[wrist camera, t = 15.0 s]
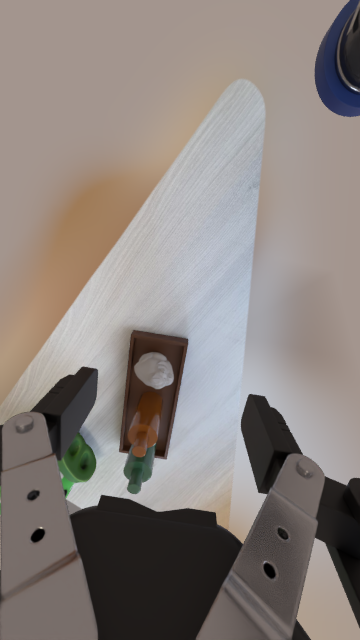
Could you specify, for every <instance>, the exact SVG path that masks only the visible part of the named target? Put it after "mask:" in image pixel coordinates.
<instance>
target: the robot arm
mask: <svg viewBox="0 0 360 640" xmlns="http://www.w3.org/2000/svg"><path fill="white" fill-rule="evenodd" d="M335 69H336V73H337V76H338V78H339V80H340V82H341V84H342V85H343V86H344V87H345V88H346V89H347V90H348V91H350V92H351V93H354V94H356V95H360V1H359V4H358V6H357V8H356V9H355V10H354V12H353V13H352V14H351V16H350V17H349V19H348V20H347V21H346V23H345V25H344V26H343V28H342V30H341V32H340V35H339V37H338V40H337V44H336V49H335ZM97 381H98V370H97V369H94V368H88V367H81V368H80V370H79V371H78V372H77V373H76V374H75V375H68V376H66V377H64V378H62V379H60V380H59V381H58V382H57V384H56V385H55V386H54V387H53V388H52V389H51V390H50V391H49V393H47V394H46V395H45V396H44V397H43V398H42V399H41V400H40V401H39V403H38V404H37V405H36V406H35V407H34V408H33V409H32V410H31V411H30V412H25V413H21V414H18V415H15V416H13V417H12V418H10V419H9V420H8V421H7V422H6V423H5V424H4V425H0V486H1V570H0V640H311V639H310V638H309V636H308V635H307V633H306V632H305V631H304V629H303V628H302V626H301V625H300V624H299V622H298V621H297V619H296V617H297V613H298V608H299V604H300V600H301V595H302V591H303V587H304V582H305V578H306V573H307V569H308V565H309V561H310V556H311V551H312V547H313V543H314V539H315V538H317V539H319V540H321V541H323V542H325V543H326V546H327V548H328V551H329V553H330V556H331V558H332V561H333V563H334V566H335V568H336V571H337V573H338V576H339V578H340V581H341V583H342V585H343V588H344V590H345V593H346V595H347V598H348V600H349V603H350V605H351V608H352V610H353V613H354V615H355V618H356V620H357V623H358V625H359V627H360V478H353V479H351V480H350V481H349V483H348V485H347V486H346V485H344V484H341V483H339V482H337V481H335V480H332V479H330V478H328V477H325V476H324V473H323V471H322V470H321V468H320V467H319V466H318V465H317V464H316V463H315V462H314V461H312V460H311V459H310V458H308V457H306V456H304V455H303V454H302V452H301V450H300V448H299V446H298V444H297V443H296V441H295V439H294V437H293V435H292V433H291V432H290V430H289V428H288V426H287V425H286V422H285V420H284V418H283V417H282V415H281V414H280V413H279V412H278V411H277V410H276V409H275V408H272V407H270V406H269V404H268V401H267V399H266V398H265V396H259V395H253V394H249V396H248V398H247V402H246V405H245V408H244V412H243V415H242V419H241V431H242V434H243V437H244V441H245V445H246V449H247V452H248V456H249V460H250V463H251V467H252V471H253V474H254V477H255V482H256V485H257V489H258V492H259V493H263V494H267V497H266V499H265V501H264V503H263V505H262V507H261V509H260V511H259V513H258V515H257V517H256V519H255V521H254V523H253V525H252V527H251V529H250V531H249V534H248V536H247V538H246V539H245V541H244V544H242V543H241V542H240V541H239V540H238V539H237V538H236V537H235V536H234V535H233V534H232V533H231V532H229V531H228V530H227V529H225V528H223V527H222V526H220V525H218V524H217V521H216V513H215V512H209V511H202V510H196V509H189V508H186V509H179V510H171V511H164V512H156V511H154V510H152V509H150V508H147V507H145V506H143V505H141V504H139V503H137V502H134V501H132V500H130V499H125V498H118V497H112V496H105V495H101V498H100V500H99V503H98V506H92V507H88V508H84V509H82V510H79V511H77V512H75V513H73V514H71V515H69V511H68V506H67V502H66V497H65V493H64V488H63V484H62V480H61V475H60V471H59V466H58V462H57V461H61V460H62V458H63V457H64V455H65V453H66V452H67V450H68V448H69V446H70V445H71V443H72V441H73V440H74V438H75V436H76V435H77V433H78V431H79V430H80V428H81V426H82V425H83V423H84V421H85V419H86V418H87V416H88V414H89V413H90V411H91V409H92V408H93V406H94V403H95V400H96V396H97Z"/></svg>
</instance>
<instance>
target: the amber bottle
mask: <svg viewBox="0 0 360 640" xmlns="http://www.w3.org/2000/svg"><path fill="white" fill-rule="evenodd" d="M162 409H163V399H162V397H161V396H160V395H159V394H157V393H155V392H146V393H143V394H142V395H141V396H140V398H139V401H138V404H137V407H136V410H135V413H134V416H133V419H132V422H131V425H130V428H129V431H128V439H129V441H130V443H131V444H132V445H133V448H132V453H133V455H134V456H136V457H143V456H144V455H145V454H146V451H147V448H150V447H152V446H153V445H155V443H156V442H157V439H158V433H159V427H160V421H161V415H162Z"/></svg>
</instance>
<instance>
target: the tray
mask: <svg viewBox="0 0 360 640" xmlns="http://www.w3.org/2000/svg"><path fill="white" fill-rule="evenodd" d="M187 347H188V339H185V338H178V337H172V336H166V335H160V334H154V333H148V332H142V331H136V330H134V331H133V332H132V334H131V340H130V350H129V360H128V370H127V379H126V389H125V399H124V409H123V419H122V429H121V438H120V448H119V452H122V453H129V450H130V446H131V443H130V441H129V439H128V431H129V428H130V425H131V422H132V419H133V416H134V413H135V410H136V407H137V404H138V401H139V398H140V396H141V395H142V394H143V393H146V392H155V393H157V394H159V395H160V396H161V397H162V399H163V409H162V415H161V421H160V427H159V433H158V439H157V445H156V452H155V458H160V459H167V455H168V449H169V444H170V438H171V433H172V428H173V422H174V417H175V411H176V406H177V401H178V395H179V390H180V385H181V379H182V374H183V368H184V363H185V358H186V352H187ZM150 352H158V353H161V354H162V355H164V356H165V357H166V358H167V361H169V362H170V364H171V366H172V370H173V374H174V379H173V382H172V383H171V384H170V385H167V386H165V387H163V388H161V389H155V388H154V387H151V386H148V385H146V384H144V383H143V381H141V380H140V379H139V378H138V377H137V375H136V373H135V370H134V366H135V365H136V364H137V363H138V362H139V359H140V358H141V356H142V355H144V354H147V353H150Z"/></svg>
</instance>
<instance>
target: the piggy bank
mask: <svg viewBox="0 0 360 640" xmlns="http://www.w3.org/2000/svg"><path fill="white" fill-rule="evenodd" d="M57 462H58V466H59V471H60V475H61V480H62V484H63V488H64V493H65V497H66V498H67V496H68V494H69V492H70V491H71V489H72V487H73V485H74V484H75V483H78V482H86V481H88V480H89V479H90V478H91V477H92V475H93V473H94V471H95V469H96V458H95V455H94V453H93V451H92V449H91V448H90V446H89V445H87V444H86V443H85V441H84V438H83V437H82V436H81V435H80V433H77V435H76V436H75V438H74V440H73V441H72V443H71V445H70V446H69V448H68V450H67V452H66V453H65V455H64V457H63V458H62V460H61V461H57ZM0 515H1V486H0Z"/></svg>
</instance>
